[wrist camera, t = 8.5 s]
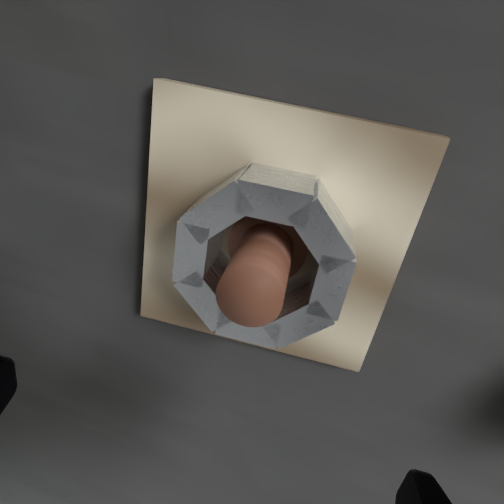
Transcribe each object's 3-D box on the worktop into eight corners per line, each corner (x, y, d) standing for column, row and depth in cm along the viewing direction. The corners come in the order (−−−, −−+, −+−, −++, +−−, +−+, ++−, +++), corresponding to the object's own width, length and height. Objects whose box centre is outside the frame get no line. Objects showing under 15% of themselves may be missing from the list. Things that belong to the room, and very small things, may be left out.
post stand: (357, 359, 21) (367, 457, 16) (148, 305, 22) (90, 380, 17) (443, 134, 16) (503, 166, 10) (162, 78, 17) (85, 80, 11)
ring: (325, 321, 19) (324, 361, 17) (190, 288, 20) (168, 322, 17) (366, 186, 16) (374, 208, 13) (205, 152, 17) (181, 167, 14)
